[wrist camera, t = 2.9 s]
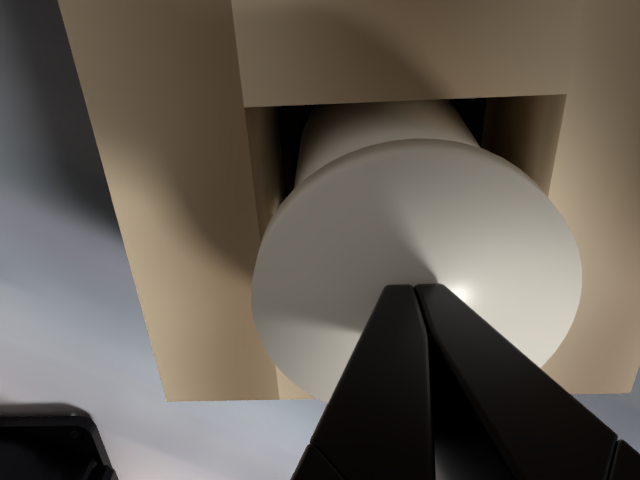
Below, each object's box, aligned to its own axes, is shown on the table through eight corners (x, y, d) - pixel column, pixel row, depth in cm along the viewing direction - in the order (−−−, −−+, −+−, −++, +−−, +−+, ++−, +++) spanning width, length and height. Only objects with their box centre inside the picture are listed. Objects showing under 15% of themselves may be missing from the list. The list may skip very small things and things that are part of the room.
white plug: (290, 242, 14) (267, 421, 9) (274, 57, 12) (230, 162, 7) (472, 236, 14) (551, 417, 9) (493, 47, 12) (617, 148, 7)
